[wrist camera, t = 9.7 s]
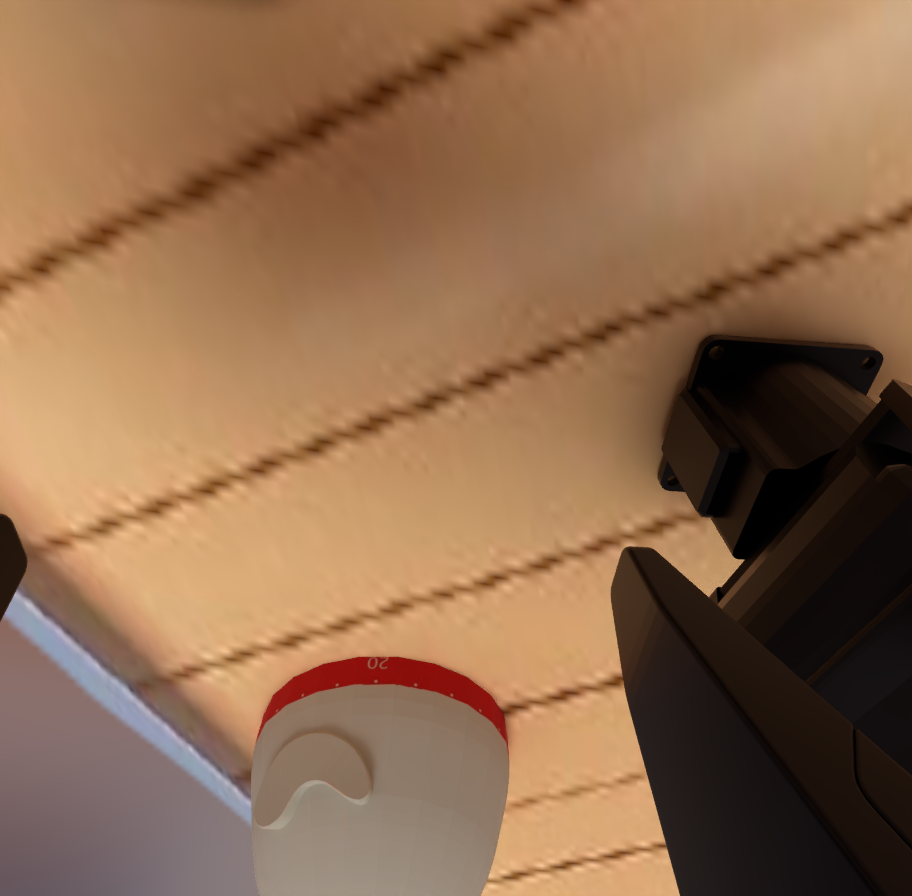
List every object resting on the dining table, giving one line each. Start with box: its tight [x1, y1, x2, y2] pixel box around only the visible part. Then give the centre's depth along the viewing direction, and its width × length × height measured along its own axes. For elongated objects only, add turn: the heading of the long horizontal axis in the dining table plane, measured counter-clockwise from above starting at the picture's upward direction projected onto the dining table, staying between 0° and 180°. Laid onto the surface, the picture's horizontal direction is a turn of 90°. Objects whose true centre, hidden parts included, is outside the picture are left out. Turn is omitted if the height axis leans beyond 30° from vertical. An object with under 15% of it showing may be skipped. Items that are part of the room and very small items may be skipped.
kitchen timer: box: [251, 657, 509, 896], centre depth 27 cm, size 14×14×15 cm
